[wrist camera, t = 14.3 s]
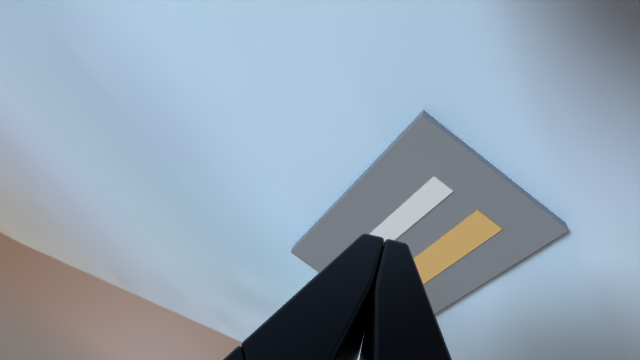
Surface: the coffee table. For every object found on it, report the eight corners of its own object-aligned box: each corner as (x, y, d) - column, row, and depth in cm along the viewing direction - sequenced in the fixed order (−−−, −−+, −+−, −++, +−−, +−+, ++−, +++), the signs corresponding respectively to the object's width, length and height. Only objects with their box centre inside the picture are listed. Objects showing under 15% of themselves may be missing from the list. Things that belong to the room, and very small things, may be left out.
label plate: (423, 110, 20) (422, 116, 19) (565, 223, 21) (568, 232, 20) (293, 245, 27) (290, 253, 26) (404, 325, 28) (403, 334, 27)
